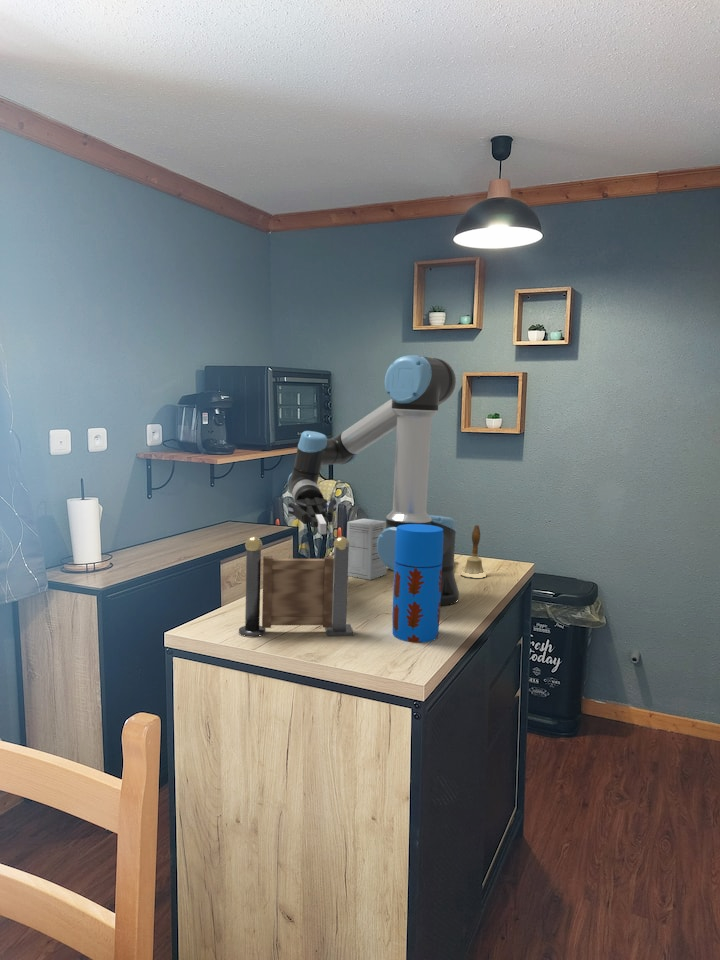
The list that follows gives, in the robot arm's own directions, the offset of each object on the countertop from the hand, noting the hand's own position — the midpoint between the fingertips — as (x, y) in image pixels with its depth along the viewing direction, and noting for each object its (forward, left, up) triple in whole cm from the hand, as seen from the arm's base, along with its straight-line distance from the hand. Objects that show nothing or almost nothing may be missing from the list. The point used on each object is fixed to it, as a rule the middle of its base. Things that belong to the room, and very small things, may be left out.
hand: (323, 528), depth 171 cm
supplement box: (-1, -48, -23) cm, 53 cm away
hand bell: (-34, -59, -23) cm, 72 cm away
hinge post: (+12, +14, -22) cm, 29 cm away
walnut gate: (+3, +10, -21) cm, 24 cm away
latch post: (-6, +7, -22) cm, 24 cm away
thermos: (-24, +4, -23) cm, 33 cm away
